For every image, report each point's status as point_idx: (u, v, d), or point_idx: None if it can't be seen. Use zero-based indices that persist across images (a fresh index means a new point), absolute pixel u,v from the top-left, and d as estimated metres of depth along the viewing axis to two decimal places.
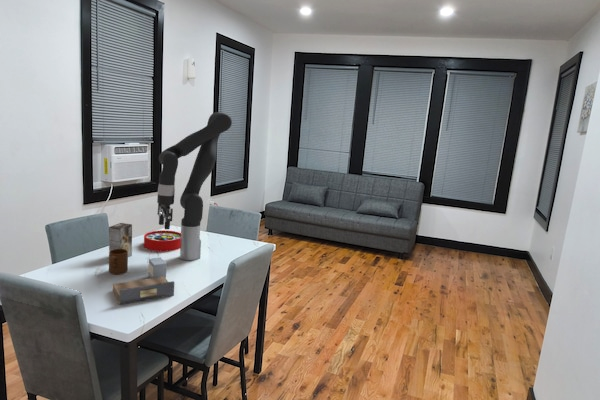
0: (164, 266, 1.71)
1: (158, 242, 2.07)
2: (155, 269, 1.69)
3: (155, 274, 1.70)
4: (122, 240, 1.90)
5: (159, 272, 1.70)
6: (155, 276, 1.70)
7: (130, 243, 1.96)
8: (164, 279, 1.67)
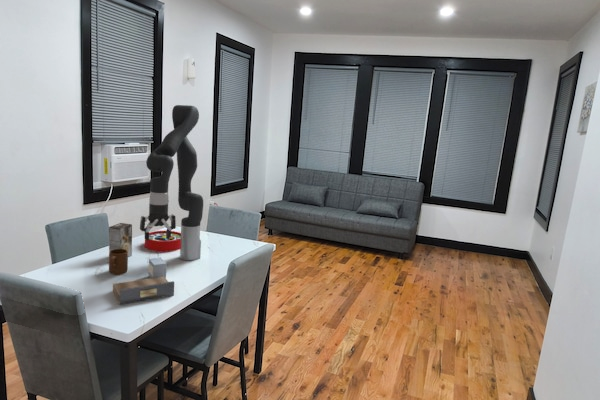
0: (164, 266, 1.71)
1: (159, 242, 2.07)
2: (155, 269, 1.69)
3: (155, 274, 1.70)
4: (122, 240, 1.90)
5: (159, 272, 1.70)
6: (155, 276, 1.70)
7: (130, 243, 1.96)
8: (164, 279, 1.67)
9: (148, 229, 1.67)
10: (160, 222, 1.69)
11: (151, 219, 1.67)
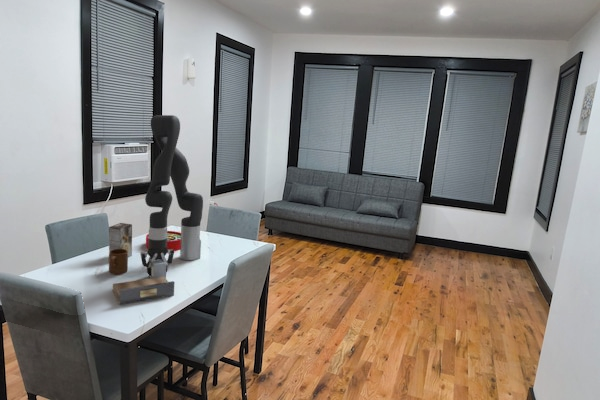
0: (164, 266, 1.71)
1: None
2: (155, 269, 1.69)
3: (155, 274, 1.70)
4: (122, 240, 1.90)
5: (159, 272, 1.70)
6: (155, 276, 1.70)
7: (130, 243, 1.96)
8: (164, 279, 1.67)
9: (150, 264, 1.70)
10: (159, 255, 1.72)
11: (150, 254, 1.70)
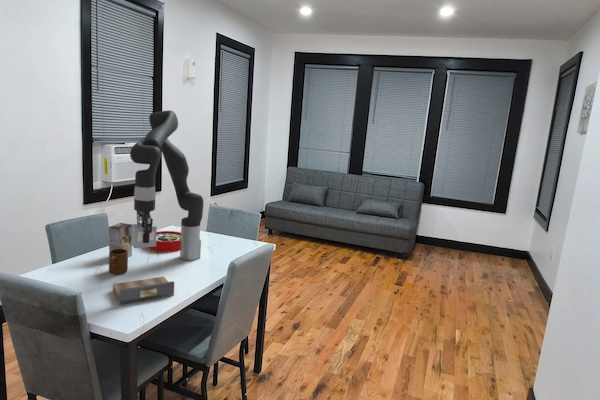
0: None
1: (162, 243, 2.07)
2: None
3: None
4: (122, 240, 1.90)
5: None
6: None
7: (130, 243, 1.96)
8: (164, 279, 1.67)
9: None
10: None
11: None
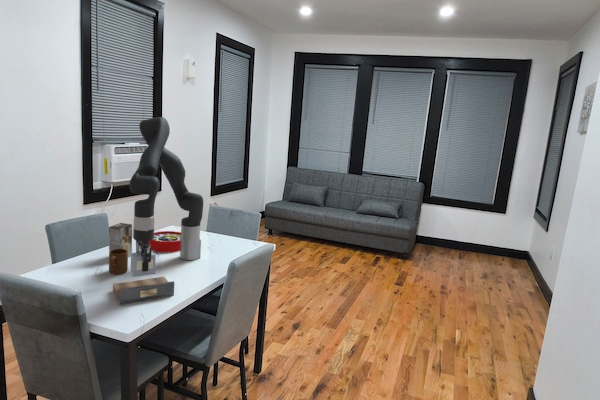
0: None
1: (163, 243, 2.07)
2: None
3: None
4: (122, 240, 1.90)
5: None
6: None
7: (130, 243, 1.96)
8: (164, 279, 1.67)
9: None
10: None
11: None
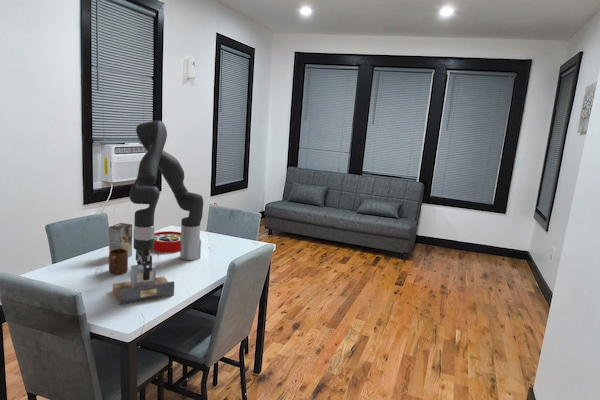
0: None
1: (164, 243, 2.06)
2: None
3: None
4: (122, 240, 1.90)
5: None
6: None
7: (130, 243, 1.96)
8: (164, 279, 1.67)
9: None
10: None
11: None
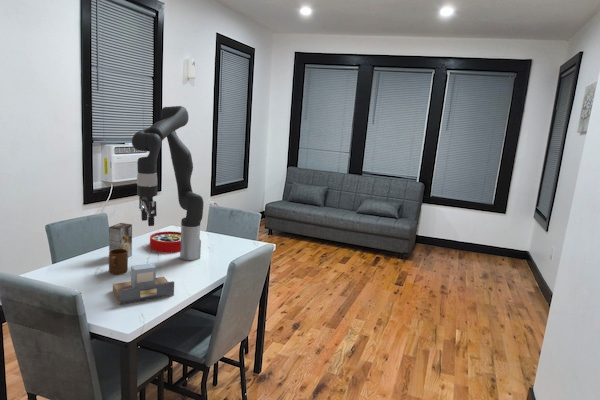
0: None
1: (165, 243, 2.06)
2: None
3: None
4: (122, 240, 1.90)
5: None
6: None
7: (130, 243, 1.96)
8: (164, 279, 1.67)
9: None
10: None
11: None
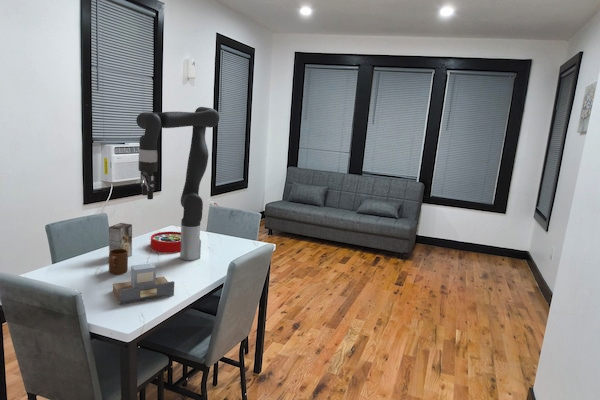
0: None
1: (166, 243, 2.06)
2: None
3: None
4: (122, 240, 1.90)
5: None
6: None
7: (130, 243, 1.96)
8: (164, 279, 1.67)
9: None
10: None
11: None
